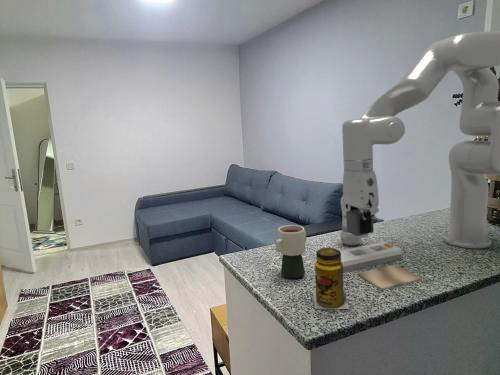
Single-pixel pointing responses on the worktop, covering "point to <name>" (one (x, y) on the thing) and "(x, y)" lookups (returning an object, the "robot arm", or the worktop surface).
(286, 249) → the character mug
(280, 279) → the worktop surface
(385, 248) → the power strip
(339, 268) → the condiment
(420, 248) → the worktop surface
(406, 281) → the cork pad
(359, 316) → the worktop surface
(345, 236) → the plastic bottle
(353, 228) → the block
